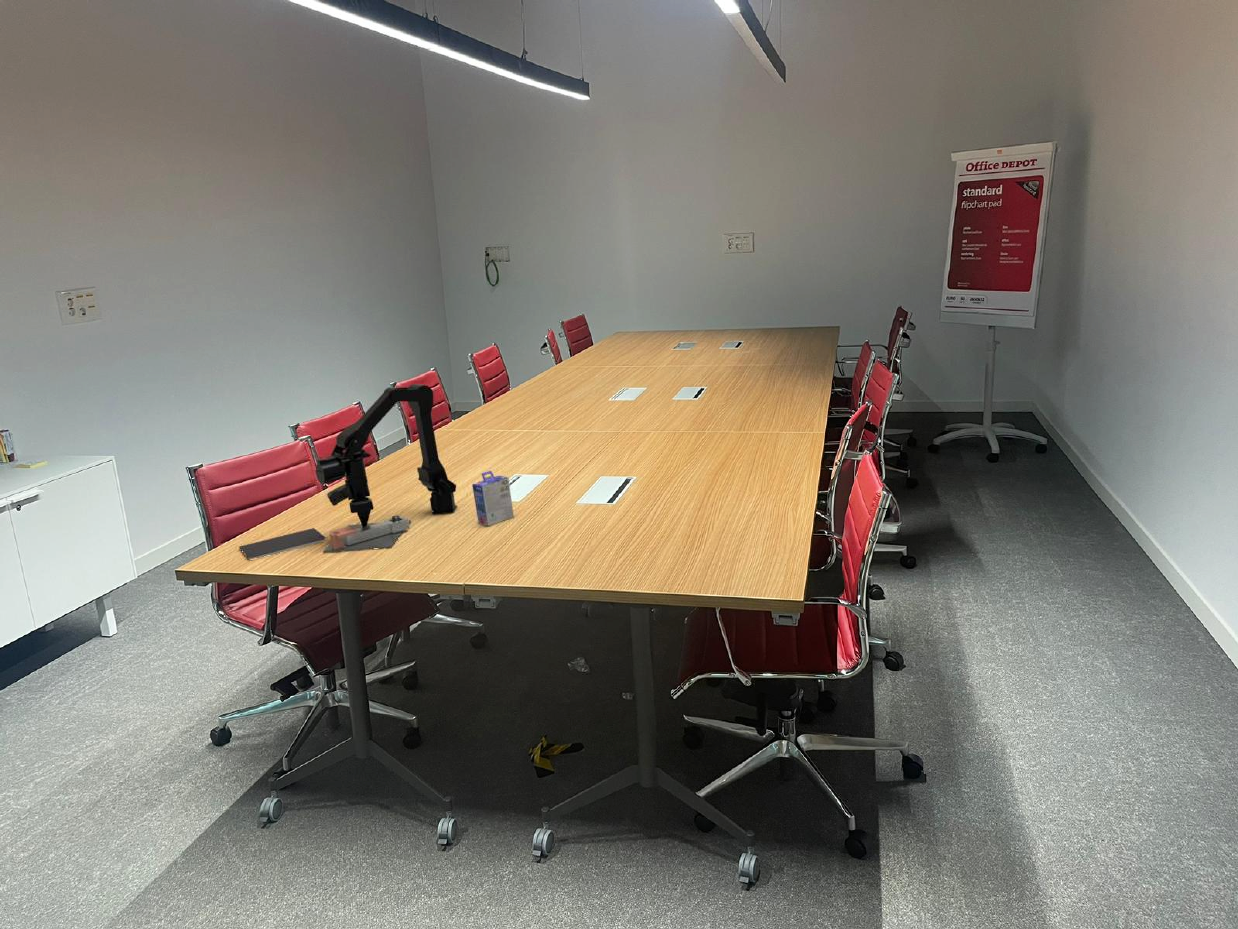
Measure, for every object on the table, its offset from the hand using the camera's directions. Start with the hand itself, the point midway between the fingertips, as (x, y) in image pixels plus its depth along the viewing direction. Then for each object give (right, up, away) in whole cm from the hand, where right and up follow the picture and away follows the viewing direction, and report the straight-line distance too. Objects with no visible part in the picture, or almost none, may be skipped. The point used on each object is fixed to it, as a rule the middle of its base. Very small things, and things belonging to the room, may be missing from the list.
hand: (364, 527), depth 260 cm
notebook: (-23, -6, -2) cm, 23 cm away
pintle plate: (+2, -3, -2) cm, 4 cm away
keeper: (-3, -5, -9) cm, 11 cm away
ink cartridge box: (+37, +2, +3) cm, 38 cm away
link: (+4, -2, -3) cm, 6 cm away
